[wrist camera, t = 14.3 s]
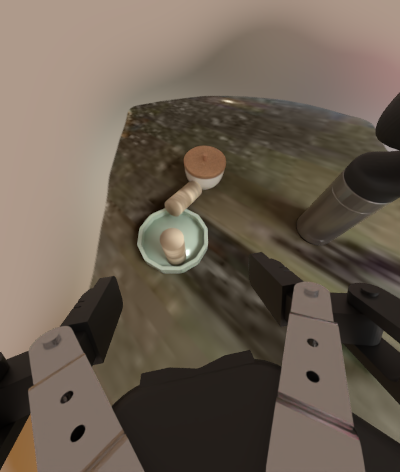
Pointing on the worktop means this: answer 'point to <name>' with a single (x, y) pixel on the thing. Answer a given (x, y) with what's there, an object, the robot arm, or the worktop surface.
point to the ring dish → (193, 239)
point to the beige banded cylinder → (183, 198)
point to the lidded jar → (204, 166)
